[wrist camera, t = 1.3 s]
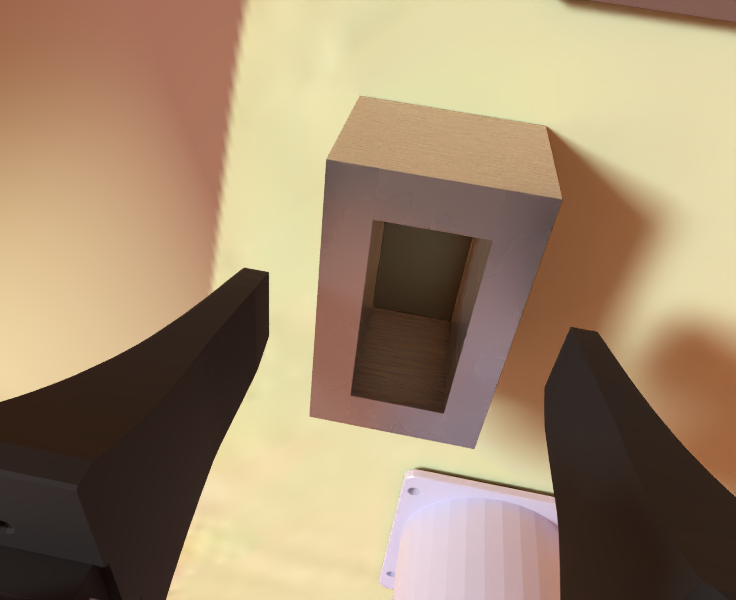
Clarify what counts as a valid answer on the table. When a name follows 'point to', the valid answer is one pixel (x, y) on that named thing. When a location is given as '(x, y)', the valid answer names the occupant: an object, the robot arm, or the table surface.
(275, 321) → the table surface
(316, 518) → the table surface
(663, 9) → the keeper
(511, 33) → the table surface
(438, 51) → the table surface
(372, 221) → the hollow rectangular frame
